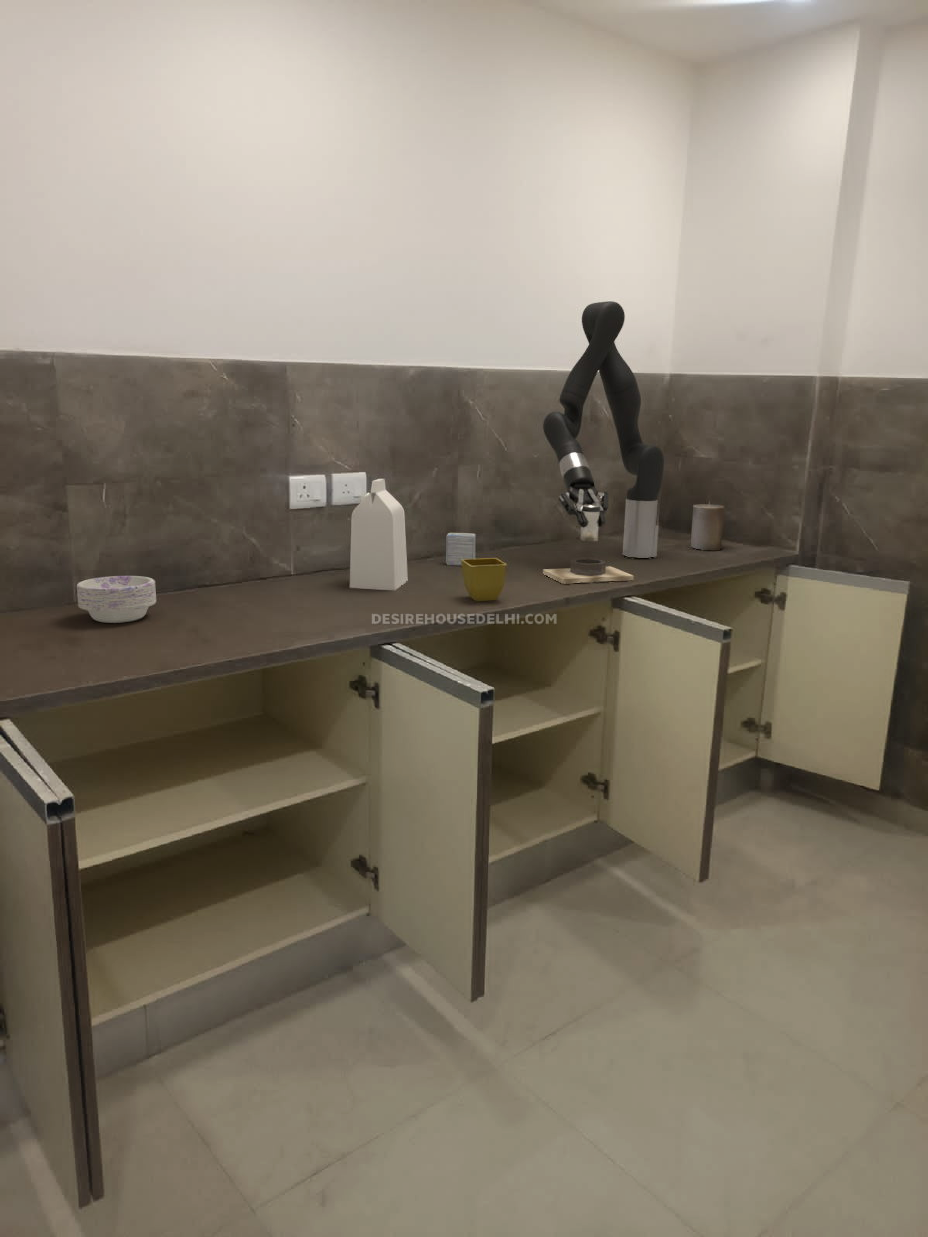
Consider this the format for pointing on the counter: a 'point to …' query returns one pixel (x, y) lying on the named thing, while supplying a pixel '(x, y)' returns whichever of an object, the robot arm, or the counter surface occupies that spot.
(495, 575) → the flower pot
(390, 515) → the milk
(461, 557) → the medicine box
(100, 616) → the paper bowls
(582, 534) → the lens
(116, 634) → the counter surface
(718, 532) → the pillar candle
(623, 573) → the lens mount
